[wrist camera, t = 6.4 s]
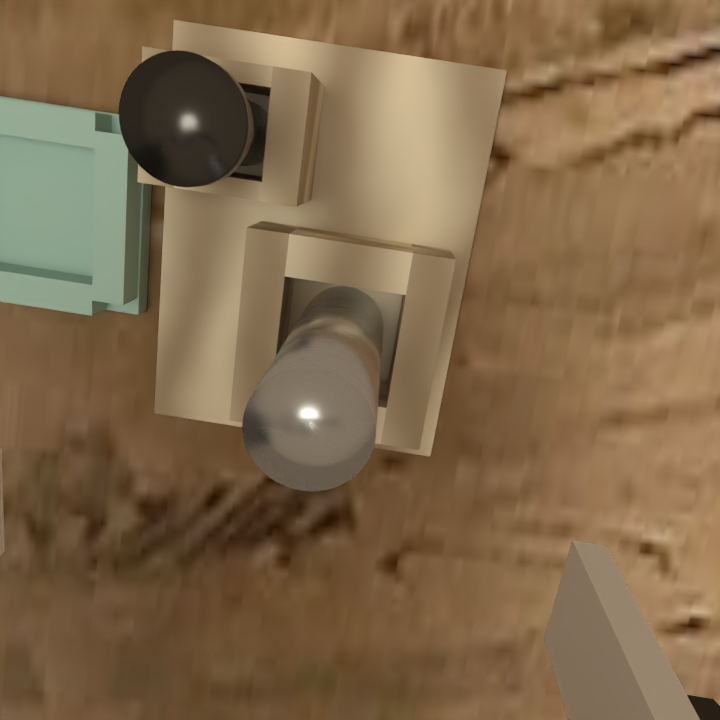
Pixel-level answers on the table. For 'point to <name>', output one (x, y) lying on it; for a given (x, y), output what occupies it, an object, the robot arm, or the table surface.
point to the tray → (70, 211)
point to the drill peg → (320, 395)
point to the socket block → (326, 222)
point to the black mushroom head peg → (189, 120)
